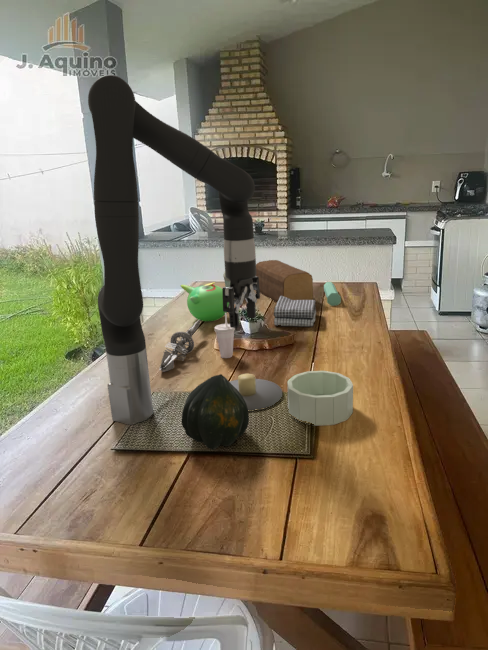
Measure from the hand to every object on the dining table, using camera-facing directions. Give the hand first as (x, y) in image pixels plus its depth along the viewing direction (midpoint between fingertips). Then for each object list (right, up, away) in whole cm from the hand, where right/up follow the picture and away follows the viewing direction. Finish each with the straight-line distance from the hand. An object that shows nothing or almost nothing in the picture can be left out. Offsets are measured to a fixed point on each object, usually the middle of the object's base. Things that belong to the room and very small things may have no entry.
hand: (243, 322), depth 128 cm
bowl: (+18, -21, -4) cm, 28 cm away
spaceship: (-19, -10, +37) cm, 43 cm away
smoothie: (-5, -11, +34) cm, 36 cm away
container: (+38, +11, +94) cm, 102 cm away
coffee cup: (-4, +11, +102) cm, 103 cm away
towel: (+20, +1, +66) cm, 69 cm away
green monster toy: (-14, +1, +71) cm, 73 cm away
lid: (+1, -19, +6) cm, 20 cm away
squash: (-6, -26, -14) cm, 30 cm away
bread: (+17, +12, +100) cm, 103 cm away
